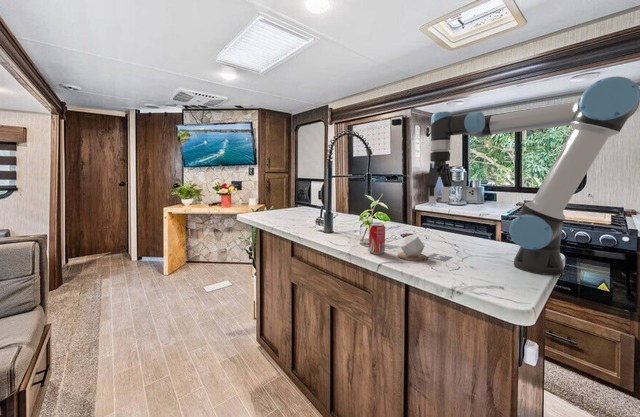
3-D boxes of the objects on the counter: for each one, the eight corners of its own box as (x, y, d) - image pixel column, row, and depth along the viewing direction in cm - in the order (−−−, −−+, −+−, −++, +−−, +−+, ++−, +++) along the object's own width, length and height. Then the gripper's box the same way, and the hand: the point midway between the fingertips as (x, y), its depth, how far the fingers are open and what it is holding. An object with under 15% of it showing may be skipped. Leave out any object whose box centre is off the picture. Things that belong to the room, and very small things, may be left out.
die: (419, 261, 119) (431, 240, 121) (400, 250, 120) (411, 229, 122) (413, 263, 127) (423, 243, 129) (394, 252, 128) (405, 232, 130)
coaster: (432, 257, 125) (432, 256, 125) (418, 263, 117) (418, 261, 117) (406, 251, 134) (406, 250, 134) (392, 256, 126) (392, 255, 125)
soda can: (386, 252, 133) (387, 223, 131) (381, 255, 127) (382, 226, 125) (372, 249, 137) (372, 222, 135) (365, 253, 131) (366, 224, 129)
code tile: (452, 257, 125) (452, 257, 125) (444, 261, 120) (444, 260, 120) (434, 253, 131) (434, 253, 131) (425, 257, 125) (425, 256, 125)
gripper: (442, 153, 133) (441, 200, 135) (417, 150, 115) (417, 204, 117) (460, 152, 128) (458, 201, 130) (436, 148, 110) (435, 205, 112)
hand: (439, 203), depth 123 cm, fingers open, 13 cm apart
